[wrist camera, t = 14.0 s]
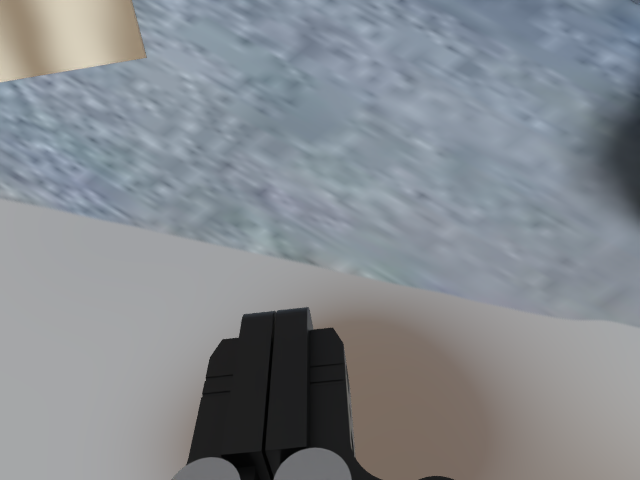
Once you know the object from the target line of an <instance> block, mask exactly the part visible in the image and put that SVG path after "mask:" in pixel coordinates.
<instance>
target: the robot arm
mask: <svg viewBox="0 0 640 480" xmlns="http://www.w3.org/2000/svg"><path fill="white" fill-rule="evenodd" d="M632 1H633V2H635V3H636V4H638V5H640V0H632ZM202 394H203V397H202V398H201V402H200V407H199V411H198V416H197V421H196V426H195V430H194V435H193V440H192V444H191V449H190V453H189V458H188V462H187V464H186V466H185V467H184V468H182V469H181V470H180V471H179V472H178V473H177V474H176V475H175V476H174V477H173V479H172V480H381V479H379V478H377V477H375V476H373V475H371V474H370V473H368V472H367V471H366V470H365V469H363V468H362V467H361V465H360V464H359V463H358V462H357V460H356V458H355V447H354V435H353V422H352V410H351V398H350V397H351V396H350V386H349V379H348V372H347V365H346V358H345V352H344V344H343V342H342V341H341V339H340V338H339V336H338V335H337V333H336V332H335V330H334V329H333V328H325V329H316V330H313V325H312V320H311V314H310V310H309V308H308V307H306V308H297V309H288V310H278V311H277V312H275V311H271V312H261V313H252V314H244V315H243V317H242V322H241V329H240V334H239V338H232V339H223V340H222V341H221V342H220V344H219V345H218V347H217V348H216V350H215V351H214V353H213V354H212V355H211V357H210V360H209V364H208V369H207V374H206V381H205V383H204V388H203V393H202ZM419 480H454V479H451V478H447V477H442V476H431V477H425V478H422V479H419Z"/></svg>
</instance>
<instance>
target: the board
mask: <svg viewBox="0 0 640 480" xmlns="http://www.w3.org/2000/svg"><path fill="white" fill-rule="evenodd" d="M141 58H147V57H146V53H145V49H144V45H143V41H142V37H141V34H140V30H139V26H138V22H137V18H136V14H135V11H134V7H133V3H132V0H0V82H4V81H10V80H16V79H22V78H28V77H34V76H40V75H46V74H52V73H58V72H64V71H70V70H76V69H82V68H88V67H94V66H100V65H106V64H112V63H118V62H124V61H130V60H135V59H141Z"/></svg>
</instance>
